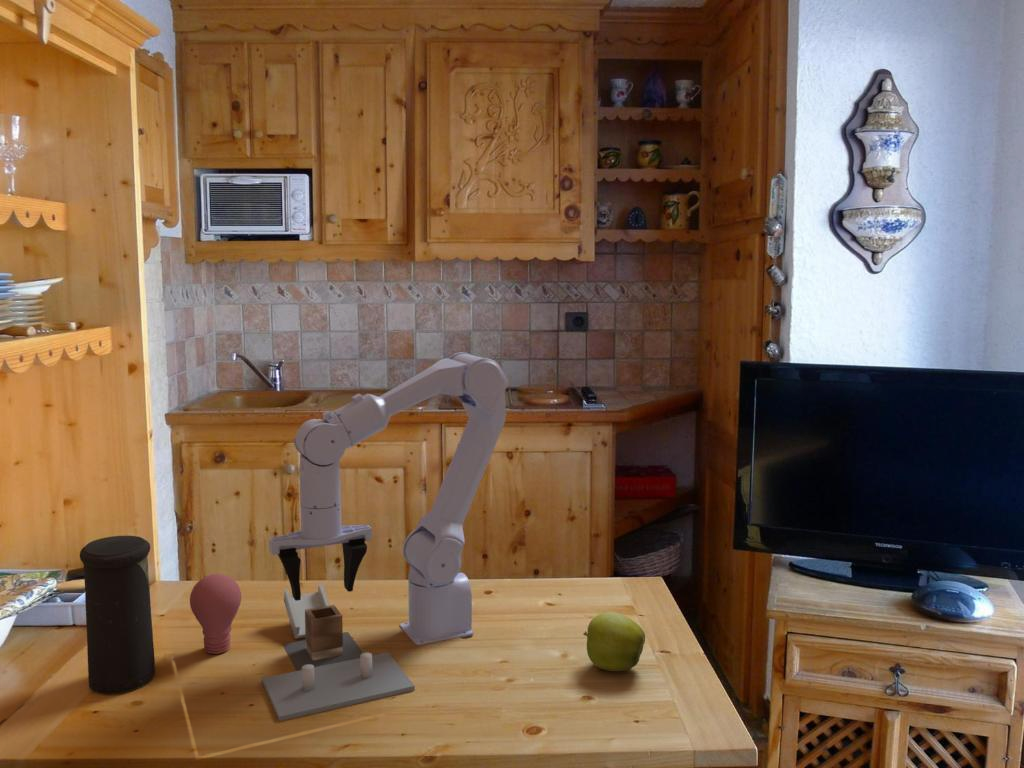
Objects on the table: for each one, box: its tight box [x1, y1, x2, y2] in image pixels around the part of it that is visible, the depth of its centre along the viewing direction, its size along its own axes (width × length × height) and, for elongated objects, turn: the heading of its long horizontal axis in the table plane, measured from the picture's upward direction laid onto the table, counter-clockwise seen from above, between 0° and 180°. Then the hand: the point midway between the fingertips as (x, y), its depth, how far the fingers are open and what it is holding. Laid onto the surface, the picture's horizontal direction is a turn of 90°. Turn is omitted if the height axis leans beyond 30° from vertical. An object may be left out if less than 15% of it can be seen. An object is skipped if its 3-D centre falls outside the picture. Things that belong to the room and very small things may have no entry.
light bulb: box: [189, 573, 242, 655], centre depth 127 cm, size 7×7×12 cm
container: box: [79, 535, 156, 695], centre depth 118 cm, size 9×9×20 cm
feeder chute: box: [283, 583, 331, 639], centre depth 135 cm, size 6×8×6 cm
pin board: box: [261, 652, 416, 722], centre depth 117 cm, size 18×11×4 cm, turn 117°
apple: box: [582, 611, 646, 672], centre depth 124 cm, size 8×9×8 cm
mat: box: [282, 631, 364, 671], centre depth 128 cm, size 10×10×1 cm
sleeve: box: [304, 604, 344, 661], centre depth 127 cm, size 4×4×6 cm
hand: (322, 593), depth 126 cm, fingers open, 7 cm apart
